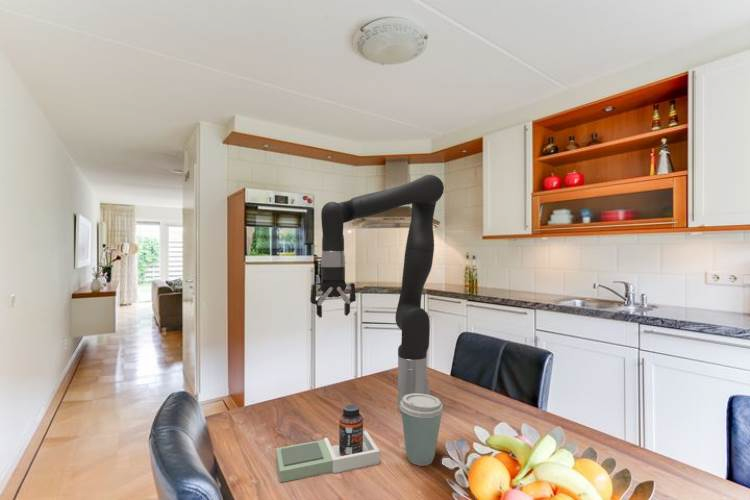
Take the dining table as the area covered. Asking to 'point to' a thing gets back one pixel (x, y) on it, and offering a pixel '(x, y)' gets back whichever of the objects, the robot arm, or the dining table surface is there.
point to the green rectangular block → (303, 460)
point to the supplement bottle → (350, 430)
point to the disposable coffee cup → (421, 426)
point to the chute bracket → (354, 455)
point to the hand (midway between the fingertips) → (333, 316)
